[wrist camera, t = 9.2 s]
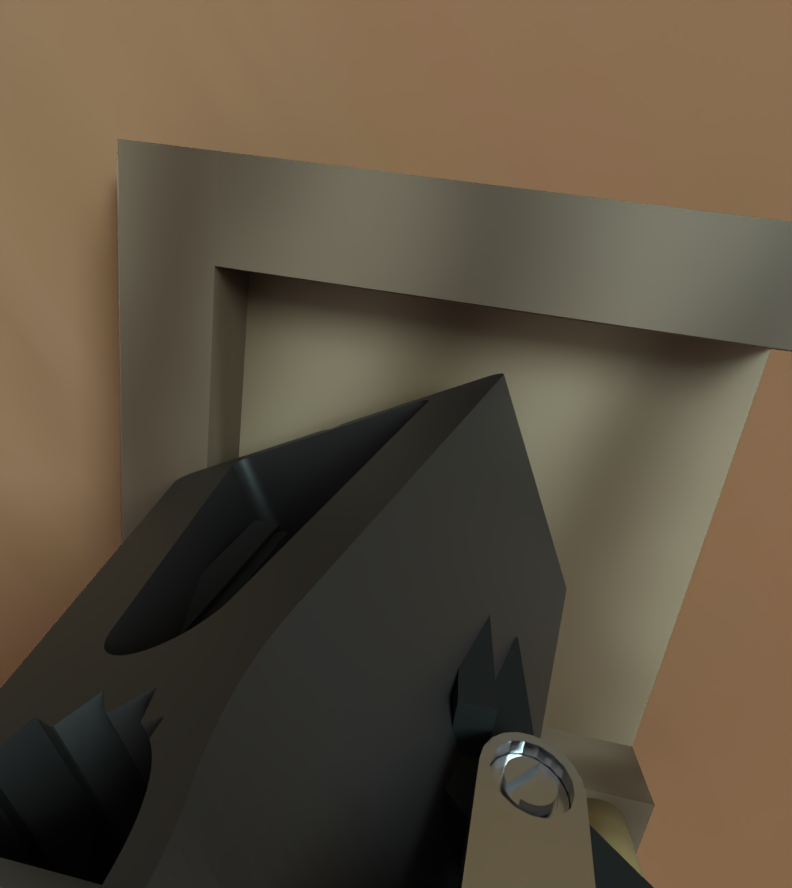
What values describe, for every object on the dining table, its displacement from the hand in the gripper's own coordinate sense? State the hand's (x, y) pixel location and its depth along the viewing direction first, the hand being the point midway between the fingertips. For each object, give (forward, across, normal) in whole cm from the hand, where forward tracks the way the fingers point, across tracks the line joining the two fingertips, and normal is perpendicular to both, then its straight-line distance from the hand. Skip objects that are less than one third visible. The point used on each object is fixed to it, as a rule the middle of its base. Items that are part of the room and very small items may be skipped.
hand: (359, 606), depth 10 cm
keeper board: (+6, 0, 0) cm, 6 cm away
